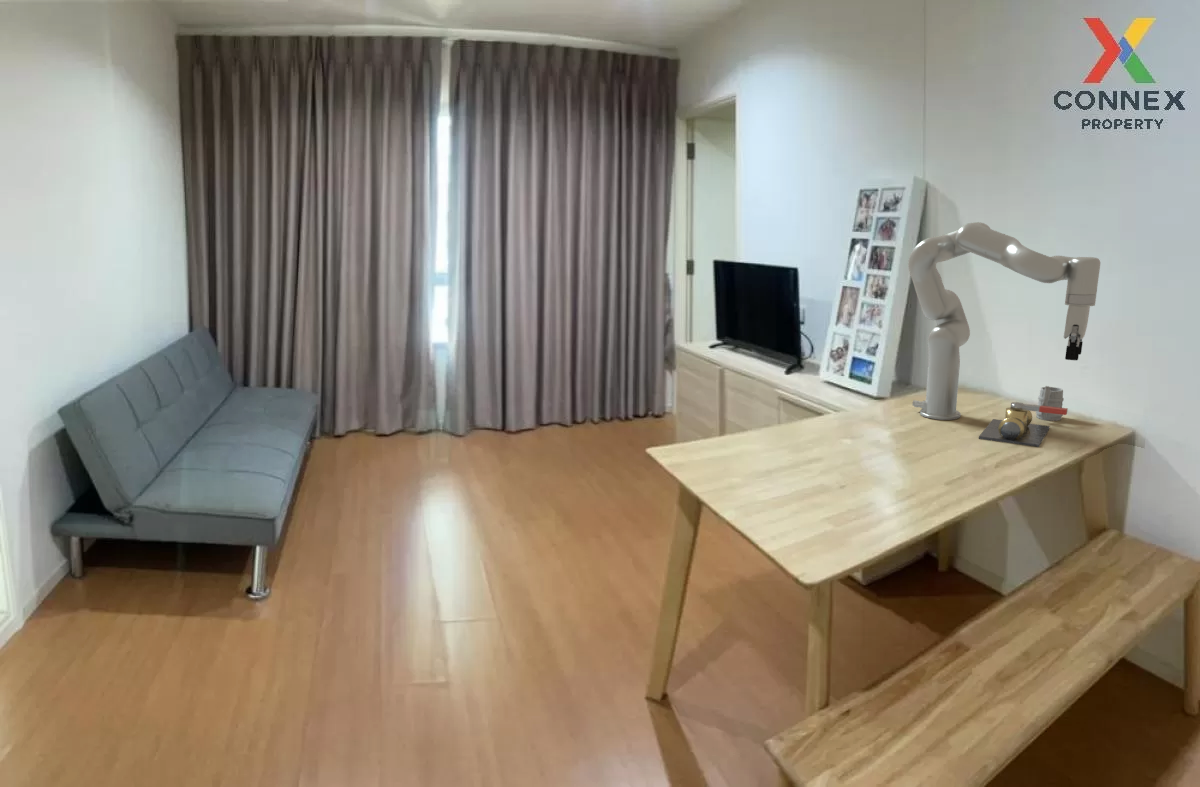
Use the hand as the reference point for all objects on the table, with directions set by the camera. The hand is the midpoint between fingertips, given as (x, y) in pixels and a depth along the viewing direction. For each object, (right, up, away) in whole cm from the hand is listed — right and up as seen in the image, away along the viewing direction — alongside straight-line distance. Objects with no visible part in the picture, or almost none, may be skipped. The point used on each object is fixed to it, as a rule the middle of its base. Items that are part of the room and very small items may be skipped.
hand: (1073, 356), depth 222 cm
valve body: (-13, -23, +8) cm, 28 cm away
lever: (-9, -16, +2) cm, 19 cm away
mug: (+5, -20, +21) cm, 29 cm away
